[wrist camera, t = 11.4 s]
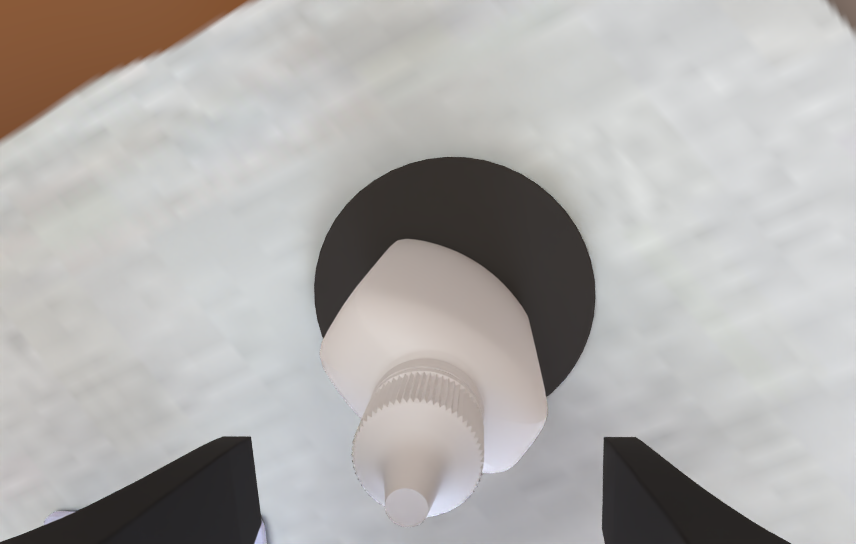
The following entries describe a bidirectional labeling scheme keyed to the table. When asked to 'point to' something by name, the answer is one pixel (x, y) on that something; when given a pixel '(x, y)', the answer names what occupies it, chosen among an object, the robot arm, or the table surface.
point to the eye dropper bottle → (434, 378)
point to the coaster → (471, 246)
